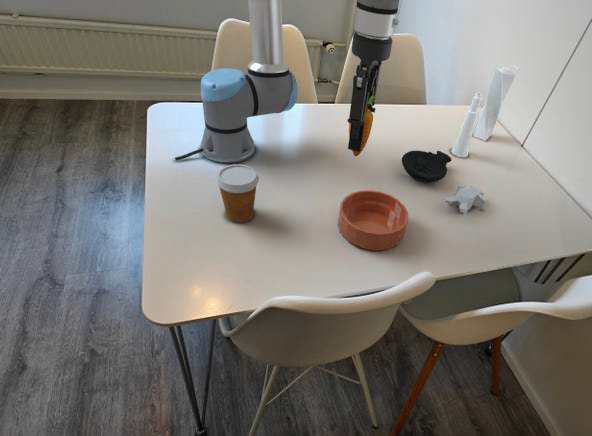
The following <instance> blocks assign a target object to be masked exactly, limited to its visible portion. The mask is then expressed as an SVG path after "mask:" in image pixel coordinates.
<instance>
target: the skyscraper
mask: <svg viewBox="0 0 592 436" xmlns="http://www.w3.org/2000/svg"><path fill="white" fill-rule="evenodd" d="M511 68H516V71H515V73H514V72H512V71H511ZM518 72H519V67H518V66H516V65H514V64H513V65H510V66H509V67H504V66H503V67H502V68H500V67H498V66H496V67H495V68H494V70H493V73H492V76H491V79H490V82H489V86H488V90H487V94H486V100H485V102H484V104H483V106H482V109H481V110H480V112H479V115H478V117H477V121H476V124H475V128H474V131H473V134H472V137H475V138H477V139H480V140H483V141H484V142H486V141H487V140H488V139H489V138H490V137H491V135H492V133H493V131H494V129H495V127H496V125H497V121H498V118H499V115H500V112H501V107H502V103H503V101H504V99H505V98H506V96H507V94H508V92H509V90H510V88H511V87H512V84H513V82H514V79H515V77H516V75H517V74H518Z"/></svg>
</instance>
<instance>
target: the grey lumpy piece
mask: <svg viewBox="0 0 592 436" xmlns="http://www.w3.org/2000/svg"><path fill="white" fill-rule="evenodd" d="M455 192H456V194H455V195H454V196H444V197H443V198H442V202H444V203H445V204H449V203H453V204H454V205H455V206H457V207H458V208H459V212H460V213H461V214H464V215H467V213H468V211H470V210H471V208H472V207H473V206H474V207H478V208H479V207H480V208H483V207H485V205H486V203H487V200H486V199H485V198H484V195H485V192H483V191H482V190H480V189H479V188H478V187H477V188H476V186H473V185H469V187H467V186H463V185H458V186H457V188H456V190H455Z"/></svg>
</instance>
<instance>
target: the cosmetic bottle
mask: <svg viewBox="0 0 592 436" xmlns="http://www.w3.org/2000/svg"><path fill="white" fill-rule="evenodd" d="M482 101H483V94H482V93H481V92H475V95H474V96H473V98H472V101H471V105H470V108H469V109H468V110H467V112H466V114H465V116H464V120H463V123H462V125H461V128H460V130H459V133H458V135H457V137H456V140H455V142H454V144H453V146H452V148H451V149H450V151H451V154H452V155H453V156H455V157H457V158H466V157H468V156H469V152H470V151H469V150H470V145H471V141H472V137H473V133H474V130H475V127H476V124H477V121H478V118H479V115H480V112H479V109H480V107H481V103H482Z"/></svg>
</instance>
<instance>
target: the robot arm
mask: <svg viewBox="0 0 592 436" xmlns="http://www.w3.org/2000/svg"><path fill="white" fill-rule="evenodd" d="M247 4H248V5H247V6H248V7H247V8H248V17H249V30H250V31H249V32H250V42H251V43H250V45H251V58H252V60H251V61H250V62H249V63H248V64H247V73H246V74H245V73H244V72H243V71H242V70H240V69H238V68H234V67H233V68H229V67H223V68H217V69H213V70H210V71H208V72H206V73H205V74H204V75H203V76H202V78H201V79H200V97H201V102H202V111H203V120H204V130H203V134H202V139H201V143H200V148H199V149H195V150H193V151H190V152H189V153H185V154H183V155H180V156H175V157H174V160H175V161H182V160H184V159H187V158H189V157H191V156H195V155H197V154H200V153H201V154H202V155H203V156H204V157H205V158H206V159H208V160H210V161H212V162H216V163H220V164H221V163H222V164H235V163H241V162H244V161H246V160H248V159H250V158H251V157H252V156H254V153H255V140H254V139H253V136H252V135H251V132H250V130H249V128H248V118H252V117H253V118H254V117H260V116H265V115H266V116H267V115H272V114H273V115H274V114H280V113H283V112H287V111H290V110H292V108H293V107H294V106H295V105H296V103H297V100H298V94H299V86H298V83H297V78H296V76H295V74H294V73H293V72H292V71H290V66H289V64H287V63H286V62H285V61H284V60H285V59H284V35H283V34H284V33H283V10H282V8H283V7H282V6H283V5H282V0H247ZM399 6H400V0H356V6H355V14H354V24H353V29H354V33H353V34H352V40H351V41H352V42H351V53H352V54H353V56H355V57H357V58H359V60H360V62H359V64H357V66H356V69H355V74H356V75H353V77H352V94H351V100H350V108H349V117H348V119H347V121H346V122H347V123H348V124H349V123H350V124H351V128H350V136H349V135H348V145H347V150H350V151H352V150H354V151H358V152H360V151H361V145H362V138H363V131H364V125H365V123H364V117H365V112H366V107H367V102H368V100H369V99H370V97H371V96H372V95H373V96H375V98H374V99H373V100H372V102H371V103H372V104H371V105H369V106H368V108H367V109H369V110H370V111H371V112H372V113H375V112H376V108H375V107H374V106H375V105H376V98H377V97H376V96H377V90H378V84H379V77H380V73H381V66H382V65H383V62H385V61H387V60H389V59H390V57H391V52H392V47H393V41H394V40H393V38H392V36H393V35H395V34H394V32H395V28H396V26H398V25H399V24H400V20H399V19H398V18H396V17H398V12H399V11H398V10H399Z"/></svg>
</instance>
